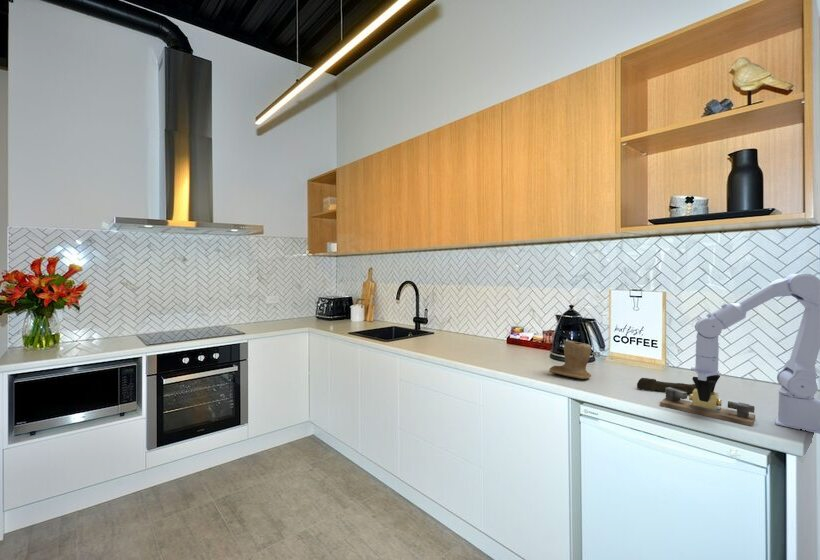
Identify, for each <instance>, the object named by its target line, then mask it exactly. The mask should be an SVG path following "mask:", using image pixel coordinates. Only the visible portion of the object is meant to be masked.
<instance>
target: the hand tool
mask: <svg viewBox="0 0 820 560" xmlns="http://www.w3.org/2000/svg"><path fill="white" fill-rule="evenodd" d="M668 387H671V388H674V389H678V390H681V391H684V392H687V395H690V394H692V393H693V390H694V389H697V388H696V385H695V383H692V384H690V383H683V382H666V381H659V380H657V379H656V378H649V377H641V378H639V380H638V382H637V383H636V388H637V389H638V390H642V389H643V390H644V391H648V390H651V391H650V392H657V391H660V392H661V391H662V392H665V388H668Z"/></svg>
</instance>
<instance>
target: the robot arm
mask: <svg viewBox="0 0 820 560" xmlns="http://www.w3.org/2000/svg"><path fill="white" fill-rule="evenodd" d="M790 296H791V297H793V298H795V299H796V300H797V301H798V302H799V303H800V304H801V305H802V306H803V307H804V310H803V314H802V316H801V321H800V324H799V327H798V331H797V334H796V337H795V341H794V344H793V348H792V351H791V354H790V357H789V359H788V361H786V362H785V364H784V367H783V368H781V369H782V370H780V371H779V372H778V373H777V376H776V380H777V382H778V384H779V385H780V386H781V387H780V389H779V390H778V408H777V409H778V410H777V411H778V412H777V413H778V414H777V416H776V419H775V423H774V424H775V425H778V426H781V427H785V428H786V427H787V428H791V429H797V430H800V429H802V430H801V431H805V430H806V432H810V433H813V434H814V433H815V434H819V435H820V398H817V397H815V394H816V393H817V392H818V383H817V375H818V374H817V369H816V362H817V359H818V356H819V352H820V278H819V277H817V276H816V275H814V274H811V273H796V272H794V273H793V272H792V273H788V274H785V275H784V276H783V277H781V278H777V279H775V280H773V281H772V282H770V283H768V284H766V285H765V286H763V287H762V288H760V289H759V290H757V291H755V292H754V293H751V295H749V296H747V297H746V298H744V299H742V300H741V301H740V302H738V303H735V302H729V303H723V304H721V307H720V308H719V309H717V310H716V311H713V312H712V313H707V314H706V315H705V316H707V317H701V318H699V319H697V321H696V323H695V324H694V328H695V329H694V330H695V331H696V337H695V338H696V341H695V367H691V368H690V370H691V371H693V372H695V373H696V374H697V376H692V379H691V380H692V382H693V384H695V385H696V388H697V392H698V396H699V400H700V401H704V402H708V401H709V398H710V393H711V392H715V388H716V385H717V383H718V381H719V379H720V377H721V375H720V371H719V354H720V353H719V352H720V351H719V350H720V343H719V336H720V335H721V333H722V331H723V330H727V329H728V328H729V327H732V326H734V325H735V324H737V323H739V322H740V321H742V320H744V319H746V316H747V313H748V312H750V310H753V309H754V308H757V307H759V306H761V305H762V304H764V303H767V302H768V301H771V300H773V299H774V298H777V297H790Z"/></svg>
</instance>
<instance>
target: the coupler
mask: <svg viewBox="0 0 820 560" xmlns="http://www.w3.org/2000/svg"><path fill="white" fill-rule="evenodd" d="M688 395H689V401H691V402H692V405H693V406H698V407H703V408H708V409H712V410H716V409H717V408H718V407H722V404H723V400H722V399H719V392H716V391H714V392H711V393H710V398H709V401H708V402H704V401H700V400H699V396H698V392H697V389H694V390H693V393H692V394H688Z"/></svg>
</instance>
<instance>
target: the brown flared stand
mask: <svg viewBox="0 0 820 560" xmlns="http://www.w3.org/2000/svg"><path fill="white" fill-rule="evenodd" d="M591 353H592V347H591V345H590V344H588V343H584V342H578V341H574V340H566V342H564V345H563V356H564V364H562V365H553V366H551V367H550V368H549V370H548V371H549V373H552V374H555V375H559V376H564V377H568V378H569V377H570V378H574V379H583V380H586V379H590V378H591V377H592V374H591V373H590V372H588V371H587V364H588V363H589V360H590V357H591Z"/></svg>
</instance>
